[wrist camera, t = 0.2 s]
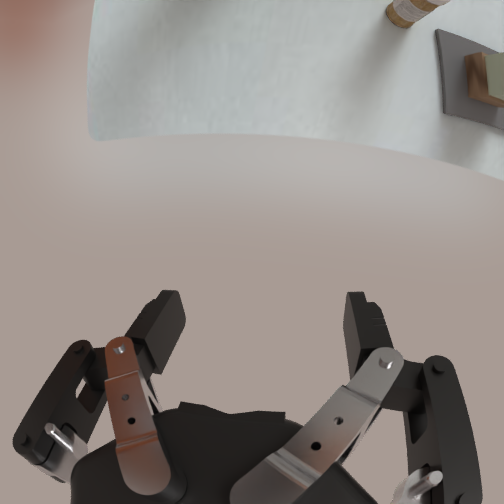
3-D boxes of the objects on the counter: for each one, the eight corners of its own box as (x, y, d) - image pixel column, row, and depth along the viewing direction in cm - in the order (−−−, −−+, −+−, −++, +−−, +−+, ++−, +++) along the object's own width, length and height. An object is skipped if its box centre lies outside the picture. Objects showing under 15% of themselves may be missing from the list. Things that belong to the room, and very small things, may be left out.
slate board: (435, 30, 23) (437, 28, 22) (506, 58, 21) (509, 57, 20) (443, 113, 30) (446, 113, 29) (511, 132, 27) (514, 133, 26)
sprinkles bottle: (397, -1, 22) (431, -36, 11) (418, 21, 23) (460, -6, 12) (379, 11, 24) (410, -25, 12) (401, 33, 25) (442, 6, 13)
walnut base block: (464, 55, 23) (481, 51, 19) (495, 68, 22) (512, 66, 18) (468, 97, 26) (486, 97, 22) (498, 107, 25) (516, 109, 21)
